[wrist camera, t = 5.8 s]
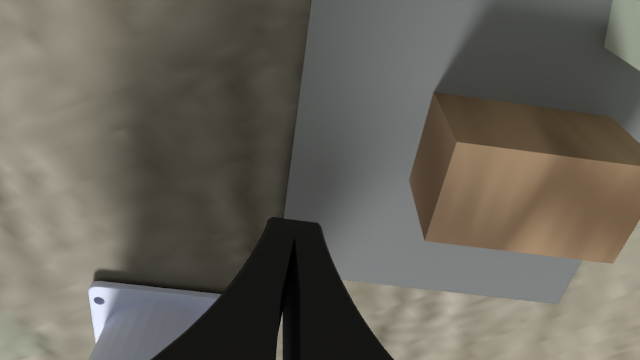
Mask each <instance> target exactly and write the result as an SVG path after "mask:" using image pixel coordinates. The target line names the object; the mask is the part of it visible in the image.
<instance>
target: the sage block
mask: <svg viewBox="0 0 640 360" xmlns="http://www.w3.org/2000/svg"><path fill="white" fill-rule="evenodd" d="M604 47H605V48H606V49H608V50H609V51H611V52H612V53H614V54H615V55H617V56H618V57H620V58H621V59H623V60H624V61H626V62H627V63H629V64H630V65H632V66H633V67H634V68H636V69H637V70H639V71H640V0H612V6H611V11H610V17H609V22H608V28H607V33H606V39H605V44H604Z"/></svg>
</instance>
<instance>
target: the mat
mask: <svg viewBox="0 0 640 360" xmlns="http://www.w3.org/2000/svg"><path fill="white" fill-rule="evenodd" d="M611 6H612V0H312V1H311V9H310V16H309V24H308V32H307V40H306V47H305V55H304V63H303V71H302V79H301V86H300V94H299V102H298V110H297V118H296V125H295V133H294V141H293V149H292V156H291V164H290V172H289V180H288V188H287V195H286V203H285V211H284V219H292V220H300V221H308V222H316V223H319V224H320V226H321V227H322V232H323V235H324V239H325V242H326V245H327V247H328V250H329V253H330V255H331V258H332V260H333V263H334V265H335V267H336V269H337V271H338V274H339V276H340V278H341V280H348V281H357V282H366V283H375V284H384V285H393V286H402V287H411V288H419V289H428V290H437V291H446V292H455V293H464V294H473V295H482V296H491V297H500V298H509V299H517V300H526V301H535V302H544V303H553V304H558V303H559V302H560V300H561V298H562V296H563V294H564V293H565V291H566V289H567V287H568V285H569V284H570V282H571V280H572V278H573V276H574V275H575V273H576V271H577V269H578V267H579V266H580V264H581V262H582V260H579V259H571V258H563V257H554V256H546V255H537V254H529V253H520V252H512V251H504V250H495V249H487V248H478V247H470V246H462V245H453V244H445V243H436V242H428V241H424V237H423V233H422V229H421V226H420V222H419V218H418V214H417V210H416V206H415V202H414V199H413V195H412V191H411V187H410V183H409V178H410V174H411V171H412V167H413V164H414V160H415V156H416V153H417V149H418V146H419V142H420V139H421V135H422V132H423V128H424V124H425V121H426V117H427V114H428V110H429V107H430V103H431V99H432V96H433V92H437V93H445V94H452V95H459V96H466V97H473V98H480V99H488V100H495V101H502V102H509V103H516V104H524V105H531V106H538V107H545V108H552V109H559V110H567V111H574V112H581V113H588V114H595V115H603V116H610V117H611V118H612V119H613V120H614V121H615V122H617V123H618V124H619V125H620V126H621V127H622V128H623V129H624V130H625V131H626V132H628V133H629V134H630V135H631V136H632V137H633V138H634V139H635V140H636V141H638V142H639V143H640V71H639V70H637V69H636V68H634V67H633V66H632V65H630V64H629V63H627V62H626V61H624V60H623V59H621V58H620V57H618V56H617V55H615V54H614V53H612V52H611V51H609V50H608V49H606V48H605V47H604V44H605V39H606V33H607V28H608V22H609V17H610V11H611Z"/></svg>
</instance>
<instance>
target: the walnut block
mask: <svg viewBox="0 0 640 360" xmlns="http://www.w3.org/2000/svg"><path fill="white" fill-rule="evenodd" d="M409 183H410V187H411V191H412V195H413V199H414V202H415V206H416V210H417V214H418V218H419V222H420V226H421V229H422V233H423V237H424V241H428V242H436V243H445V244H453V245H462V246H470V247H478V248H487V249H495V250H504V251H512V252H520V253H529V254H537V255H546V256H554V257H563V258H571V259H579V260H588V261H596V262H605V263H614V261H615V260H616V258H617V256H618V255H619V253H620V251H621V250H622V248H623V246H624V245H625V243H626V241H627V240H628V238H629V236H630V235H631V233H632V231H633V230H634V228H635V226H636V225H637V223H638V221H639V220H640V143H639V142H638V141H636V140H635V139H634V138H633V137H632V136H631V135H630V134H629V133H628V132H626V131H625V130H624V129H623V128H622V127H621V126H620V125H619V124H618V123H617V122H615V121H614V120H613V119H612V118H611V117H610V116H603V115H595V114H588V113H581V112H574V111H567V110H559V109H552V108H545V107H538V106H531V105H524V104H516V103H509V102H502V101H495V100H488V99H480V98H473V97H466V96H459V95H452V94H445V93H437V92H433V96H432V99H431V103H430V107H429V110H428V114H427V117H426V121H425V124H424V128H423V132H422V135H421V139H420V142H419V146H418V149H417V153H416V156H415V160H414V164H413V167H412V171H411V174H410V178H409Z"/></svg>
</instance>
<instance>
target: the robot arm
mask: <svg viewBox="0 0 640 360" xmlns="http://www.w3.org/2000/svg"><path fill="white" fill-rule="evenodd" d="M88 294H89V301H90V308H91V315H92V322H93V329H94V336H95V343H96V345H95V347H94V349H93V351H92V353H91V355H90V357H89V360H276V349H277V336H278V331H279V326H280V321H281V317H282V312H283V360H394V359H393V358H392V357H391V356H390V355H389V353H388V352H387V351H386V350H385V349H384V347H383V346H382V345H381V343H380V342H379V341H378V339H377V338H376V337H375V335H374V334H373V332H372V331H371V330H370V328H369V327H368V325H367V324H366V322H365V321H364V319H363V318H362V316H361V314H360V313H359V311H358V310H357V308H356V306H355V304H354V303H353V301H352V299H351V297H350V295H349V294H348V292H347V290H346V288H345V286H344V284H343V282H342V280H341V278H340V276H339V274H338V271H337V269H336V267H335V265H334V263H333V260H332V258H331V255H330V253H329V250H328V247H327V245H326V242H325V239H324V235H323V232H322V227H321V226H320V224H319V223H316V222H308V221H300V220H292V219H284V218H276V217H272V218H270V219H269V220H268V221H267V225H266V227H265V230H264V232H263V234H262V236H261V238H260V240H259V242H258V244H257V245H256V247H255V249H254V250H253V252H252V254H251V255H250V257H249V258H248V260H247V261H246V263H245V264H244V266H243V267H242V269H241V270H240V271H239V273H238V274H237V275H236V277H235V278H234V279H233V281H232V282H231V283H230V284H229V286H228V287H227V288H226V289H225V291H224V292H223V293H222V294H215V293H205V292H196V291H187V290H178V289H169V288H159V287H150V286H141V285H132V284H123V283H113V282H104V281H95V282H93V283H92V284H91V285H90V287H89V289H88ZM99 297H101V298H99Z"/></svg>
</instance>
